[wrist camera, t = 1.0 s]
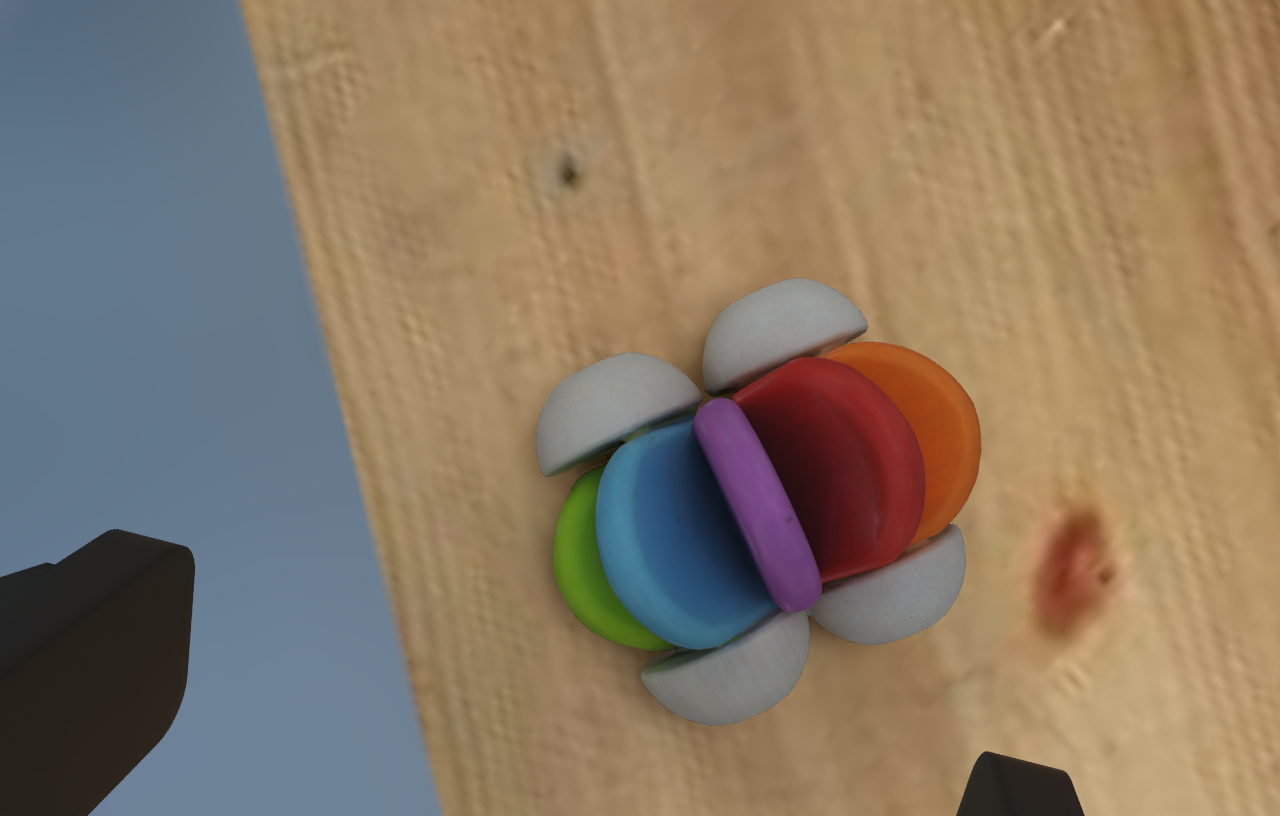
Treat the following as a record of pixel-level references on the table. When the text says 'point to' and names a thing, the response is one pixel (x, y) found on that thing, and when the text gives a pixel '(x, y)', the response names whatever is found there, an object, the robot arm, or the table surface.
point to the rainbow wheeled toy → (760, 498)
